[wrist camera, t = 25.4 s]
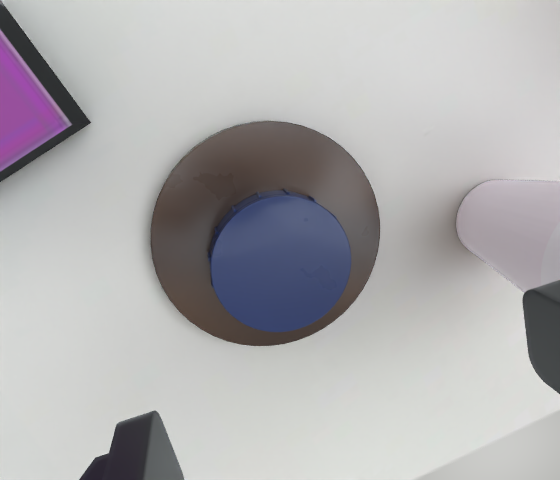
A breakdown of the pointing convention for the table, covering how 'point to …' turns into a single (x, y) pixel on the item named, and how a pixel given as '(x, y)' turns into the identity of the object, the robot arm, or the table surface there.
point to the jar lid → (279, 261)
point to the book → (30, 101)
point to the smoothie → (514, 229)
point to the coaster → (240, 185)
